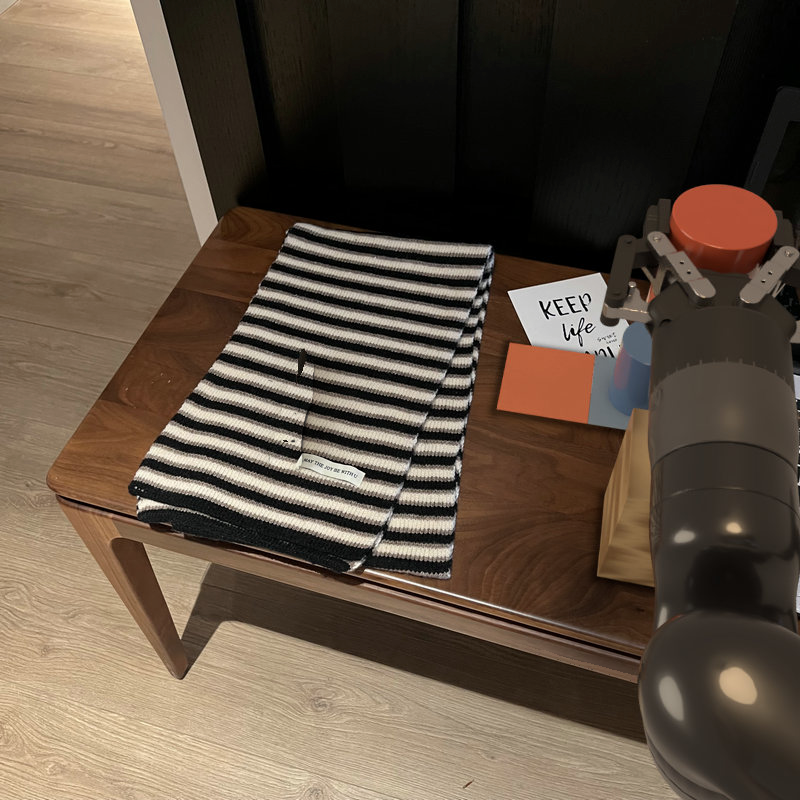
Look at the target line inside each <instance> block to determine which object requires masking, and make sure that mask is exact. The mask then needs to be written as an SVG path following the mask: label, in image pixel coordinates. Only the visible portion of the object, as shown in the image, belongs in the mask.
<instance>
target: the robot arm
mask: <svg viewBox="0 0 800 800" xmlns="http://www.w3.org/2000/svg"><path fill="white" fill-rule="evenodd" d="M671 202H672V200H671V199H668V198H667V199H666V198H659V199H658V203H657V205H653V204H651V205H650V206H649V207H648V208H647V212H646V215H645V219H644V221H643V222H644V223H643V229H642V237H641V238H636V237H635V236H633V235H631V234H624V235H621V236H620V237H619V238H618V240H617V244H616V249H615V252H614V257H613V261H612V265H611V270H610V274H609V277H608V282H607V286H606V289H605V294H604V298H603V304H602V307H601V312H600V316H599V322H600V324H602V325H603V326H605V327H608V328H614V327H617V326H618V325H619V323H620V320H625V321H629V322H630V321H631V322H640V323H644V325H645V328H646V330H647V331H648V333H649V334H650V336H651V339H652V350H651V373H650V393H649V415H648V452H649V459H650V467H651V484H650V508H649V544H650V554H651V562H652V569H653V575H654V584H655V587H654V604H653V606H654V607H653V619H652V633H651V634H652V635H651V636H650V637H649V639H648V641H647V643H646V645H645V646H644V649H643V651H642V654H641V658H640V661H639V665H638V671H637V677H636V679H637V680H636V684H637V685H636V687H637V690H636V691H637V696H638V697H637V698H638V699H637V700H638V705H639V711H640V715H641V720H642V726H643V730H644V731H643V732H644V735H645V740H646V745H647V748H648V751H649V754H650V757H651V760H652V762H653V763H654V766H655V768H656V770H657V771H658V773H659V774H660V776H661V778H662V779H663V781H664V782H665V783H666V785H668V786H669V788H670V789H671V790H672V791H673V792H674V793H675V794H676V795H677V796H678V798H680V799H681V800H800V633H799V624H798V613H797V612H798V611H797V599H798V587H799V582H800V495H799V485H798V484H799V483H798V467H799V465H798V464H799V457H800V411H799V409H798V406H797V398H796V397H797V396H796V386H795V375H794V374H795V373H794V364H793V363H794V362H793V354H792V344H800V319H798V320H796V318H795V317H794V315H793V314H792V313H791V312H790V311H789V310H787V308H786V307H784V306H783V305H782V303H780V302H779V300H778V299H777V298H776V297H777V295H778V294H779V293H780V292H781V290H782V289H783V288H784V287H785V285H787V286H790V287H793V288H795V290H796V295H797V299H798V303H799V304H800V252H799V250H798V249H797V248H796V247H795V240H794V239H795V238H794V230H793V224H792V223H791V221H790V219H788V218H784V217H783V211H782V210H776V209H775V210H774V209H773V210H774V212H775V214H776V217H777V230H776V232H775V235H774V237H773V239H772V242H771V244H770V246H769V249H768V251H767V253H766V256H765V258H764V260H763V263H762V265H761V267H760V270H759V271H758V273H757V274H756V275H755V276H754V277H753V279H750V278H749V274H742V273H719V272H715V271H712V270H708V269H700V268H696V267H695V266H694V264H693V263H692V262H691V260H690V259H689V258H688V256H687V255H686V254H685V252H684V251H677V250H676V249H675V247H674V246H673V245H672V243H671V242H670V241H669V239H668V237H669V234H670V216H671V208H672V207H671V206H672V204H671ZM634 269H641V270H642V271H643V273H644V274H645V276H646V277H647V279H648V280H649V281H650V284H651V283H652V286H653V293H654V295H655V297H654V298H653V299H652V300H651V301H650V303H648V302H646V300H644V299H642V297H641V292H640V289H639V288H637V283H636V282H635V281H630V280H631V275H632V270H634Z"/></svg>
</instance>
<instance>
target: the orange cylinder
mask: <svg viewBox="0 0 800 800" xmlns="http://www.w3.org/2000/svg"><path fill="white" fill-rule="evenodd" d="M776 230H777V217H776V214H775V212H774V209H773V207H772V206H771V205H770V204H769V203H768V202H767V201H766V200H764V199H763V198H762V197H761V196H759V195H757V194H755V193H754V192H752V191H749V190H747V189H744V188H742V187H738V186H734V185H729V184H716V183H715V184H705V185H700V186H694V187H693V188H690V189H687V190H686V191H684V192H683V193H681V194H680V195H679V196H678V197H677V199H676V200H675V201H674V203H673V205H672V209H671V211H670V234H669V237H668V239H669V241H670V242H671V243H672V245H673V246H674V247H675V249H676V250H677V251H684V252H685V254H686V255H687V256H688V258H689V259H690V260H691V262H692V263H693V264H694V266H695V267H696V268H700V269H708V270H712V271H715V272H719V273H742V274H749V278H750V279H753V277H754V276H755V275H756V274H757V273H758V271H759V270H760V269H761V268H762V263H763V260H764V258H765V256H766V253H767V251H768V249H769V246H770V244H771V242H772V239H773V237H774V235H775V232H776ZM654 297H655V295H654V293H653V286H652V283H651V282H650V286H649V290H648V294H647V296H646V300H645V302H648V303H650V301H651V300H652V299H653V298H654Z"/></svg>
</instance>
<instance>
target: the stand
mask: <svg viewBox="0 0 800 800" xmlns="http://www.w3.org/2000/svg"><path fill="white" fill-rule="evenodd" d="M648 415H649V410H644V409H638V408H633V411H632V414H631V417H630V420H629V423H628V426H627V429H626V430H625V432H624V436H623V438H622V442H621V445H620V448H619V451H618V454H617V456H616V460H615V463H614V466H613V468H612V472H611V475H610V478H609V481H608V484H607V487H606V490H605V493H604V499H603V510H602V521H601V522H602V523H601V531H600V532H601V533H600V534H601V535H600V542H599V543H600V544H599V552H598V562H597V573H596V576H597V577H600V578H606V579H610V580H615V581H621V582H625V583H632V584H636V585H640V586H647V587H653V588H655V584H654V575H653V569H652V562H651V554H650V544H649V508H650V484H651V467H650V459H649V452H648Z"/></svg>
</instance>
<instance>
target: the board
mask: <svg viewBox="0 0 800 800" xmlns="http://www.w3.org/2000/svg"><path fill="white" fill-rule="evenodd" d="M507 350H508V351H507V356H506V360H505V364H504V365H505V366H504V369H503V377H502V381H501V385H500V390H499V396H498V400H497V406H496V410H497V411H504V412H511V413H517V414H524V415H529V416H536V417H543V418H549V419H556V420H562V421H567V422H573V423H580V424H586V425H587V424H588V425H593V426H600V427H604V428H605V427H607V428H610V429H611V428H612V429H617V430H618V429H619V430H623V431H626V429H627V426H628V423H629V420H630V417H631V416H628V415H625V414H623V413H621V412H620V411H618V410H617V409H616V408H615V407H614V406H613V405H612V403H611V401H610V399H609V396H608V387H609V384H610V380H611V376H612V373H613V369H614V366H615V362H616V358H617V357H611V356H605V355H598V354H592V353H586V352H585V353H584V352H577V351H571V350H564V349H557V348H549V347H542V346H535V345H528V344H522V343H516V342H515V343H514V342H509V346H508V349H507Z"/></svg>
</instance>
